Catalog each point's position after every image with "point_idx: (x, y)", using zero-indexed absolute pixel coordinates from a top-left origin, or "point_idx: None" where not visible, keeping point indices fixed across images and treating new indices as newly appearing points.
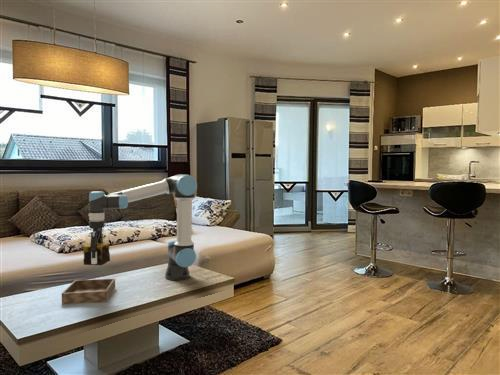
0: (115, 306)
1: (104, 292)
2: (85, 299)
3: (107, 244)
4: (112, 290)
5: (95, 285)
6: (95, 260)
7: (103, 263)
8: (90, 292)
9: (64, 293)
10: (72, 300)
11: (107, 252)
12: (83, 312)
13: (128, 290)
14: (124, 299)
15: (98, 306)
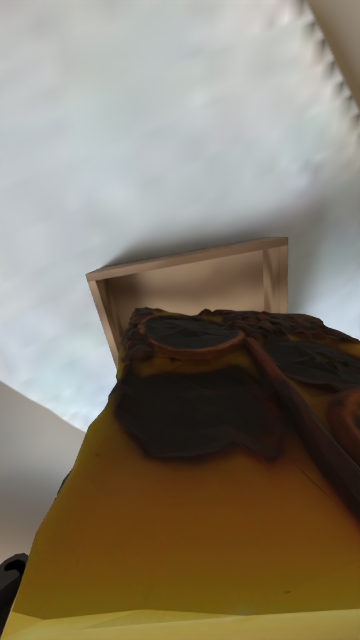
0: (318, 176)
1: (285, 246)
2: None
3: (241, 576)
4: (155, 258)
5: None
6: None
7: (282, 315)
8: (286, 306)
9: None
10: None
11: (163, 373)
12: (352, 280)
13: (121, 189)
14: (240, 164)
15: (306, 251)
